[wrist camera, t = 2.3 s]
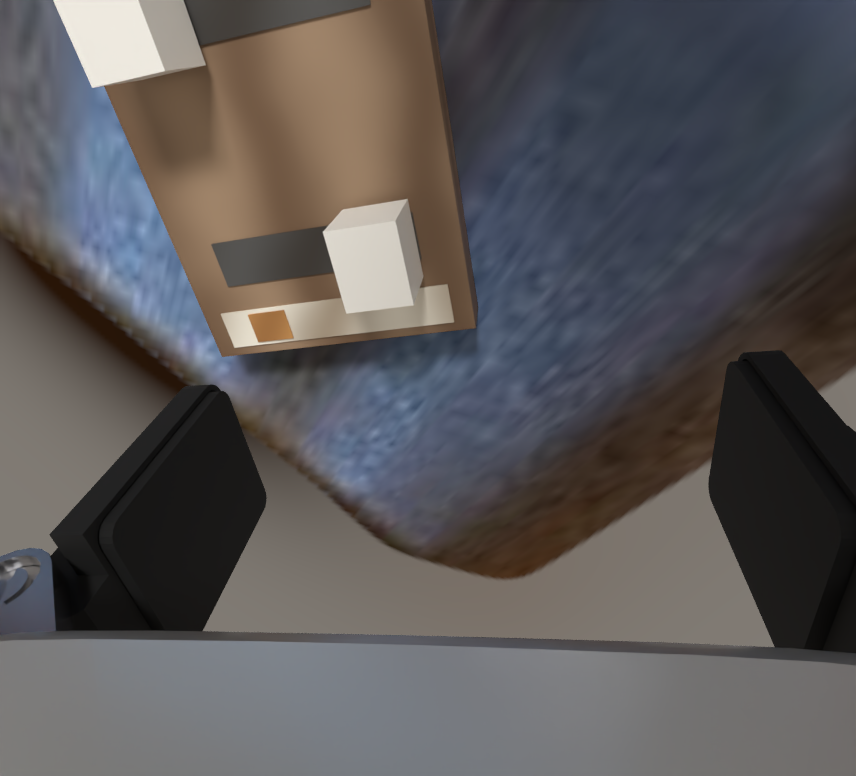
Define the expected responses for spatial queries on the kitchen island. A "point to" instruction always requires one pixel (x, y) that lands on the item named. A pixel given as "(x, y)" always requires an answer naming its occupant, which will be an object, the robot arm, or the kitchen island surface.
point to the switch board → (302, 165)
